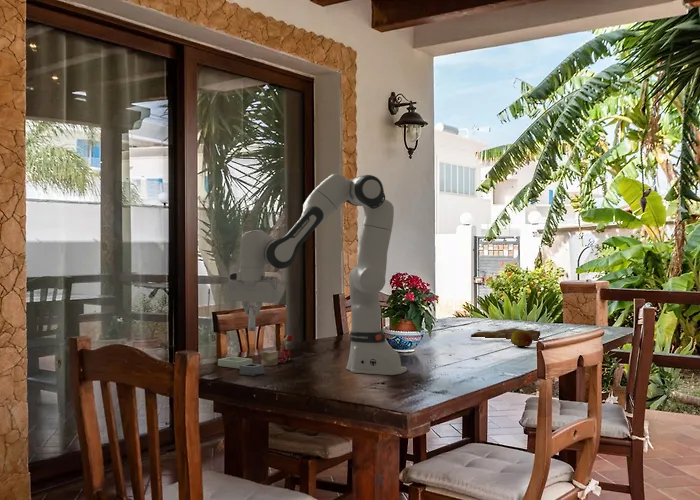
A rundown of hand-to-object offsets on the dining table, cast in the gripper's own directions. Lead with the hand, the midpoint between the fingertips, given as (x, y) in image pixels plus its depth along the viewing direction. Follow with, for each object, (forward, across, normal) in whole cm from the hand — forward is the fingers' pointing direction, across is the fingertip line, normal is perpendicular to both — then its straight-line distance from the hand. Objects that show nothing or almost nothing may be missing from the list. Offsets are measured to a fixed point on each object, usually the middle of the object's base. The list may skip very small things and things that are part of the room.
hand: (252, 314), depth 249 cm
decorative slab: (+22, -51, -145) cm, 155 cm away
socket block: (+21, 0, 0) cm, 21 cm away
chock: (+21, +6, -19) cm, 29 cm away
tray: (+21, +15, -10) cm, 28 cm away
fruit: (+22, -65, -119) cm, 137 cm away
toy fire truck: (+21, +6, -30) cm, 37 cm away
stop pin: (+6, 0, 0) cm, 6 cm away
